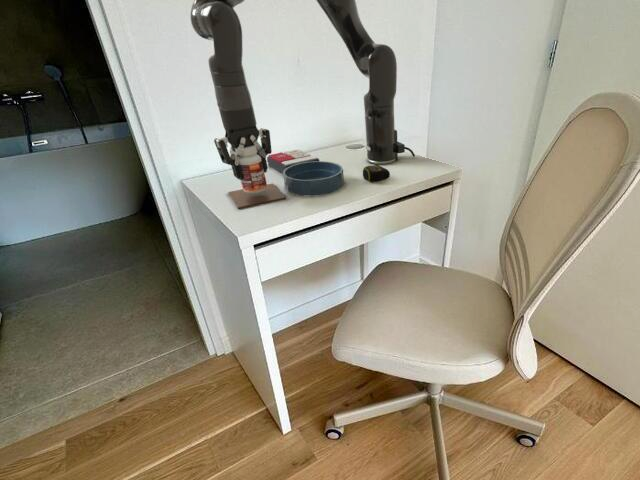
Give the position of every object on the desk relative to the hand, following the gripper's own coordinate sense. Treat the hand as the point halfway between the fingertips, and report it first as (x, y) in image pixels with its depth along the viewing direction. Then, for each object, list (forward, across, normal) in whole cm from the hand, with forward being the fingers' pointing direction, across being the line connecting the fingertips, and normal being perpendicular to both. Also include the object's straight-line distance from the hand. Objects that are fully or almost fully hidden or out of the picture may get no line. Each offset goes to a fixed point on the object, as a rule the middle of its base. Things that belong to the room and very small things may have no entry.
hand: (252, 175), depth 100 cm
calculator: (+6, +21, +10) cm, 24 cm away
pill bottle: (+4, 0, 0) cm, 4 cm away
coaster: (+6, 0, 0) cm, 6 cm away
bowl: (+6, +15, -6) cm, 17 cm away
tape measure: (+6, +29, -17) cm, 34 cm away
